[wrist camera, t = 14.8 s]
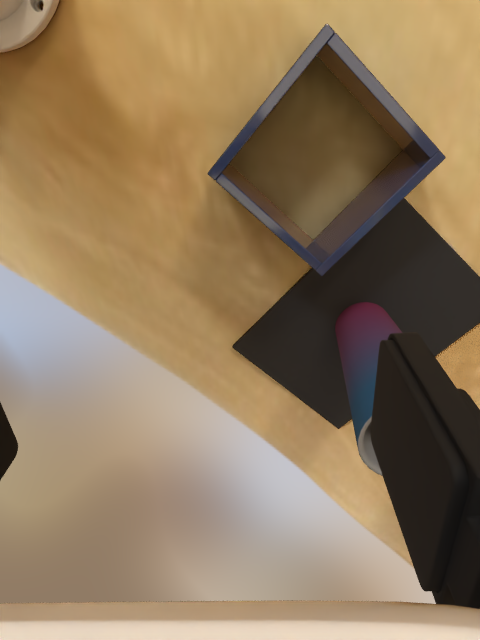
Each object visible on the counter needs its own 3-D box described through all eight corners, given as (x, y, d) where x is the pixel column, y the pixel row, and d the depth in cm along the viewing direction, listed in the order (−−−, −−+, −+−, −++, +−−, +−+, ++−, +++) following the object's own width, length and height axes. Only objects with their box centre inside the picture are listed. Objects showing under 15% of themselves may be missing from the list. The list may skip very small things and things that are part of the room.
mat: (232, 345, 41) (232, 347, 41) (393, 187, 34) (395, 188, 33) (338, 426, 45) (338, 429, 45) (503, 302, 38) (505, 303, 37)
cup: (374, 366, 41) (429, 493, 28) (312, 341, 40) (337, 460, 27) (414, 309, 38) (497, 420, 25) (348, 281, 37) (396, 380, 24)
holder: (215, 162, 33) (206, 173, 28) (315, 37, 29) (326, 22, 24) (313, 251, 36) (321, 276, 31) (416, 148, 32) (446, 157, 27)
